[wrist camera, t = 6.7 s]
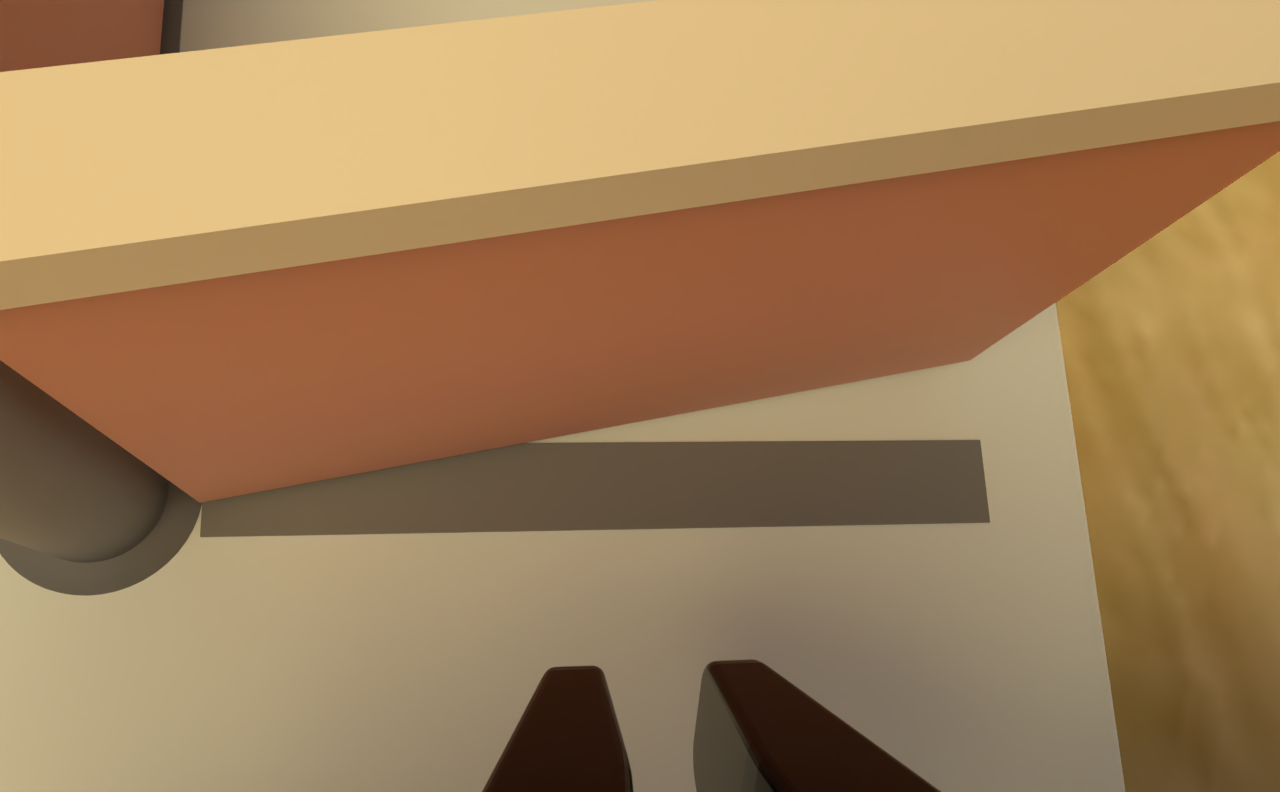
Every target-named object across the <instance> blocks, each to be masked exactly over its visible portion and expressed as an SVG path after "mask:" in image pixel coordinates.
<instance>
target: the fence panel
mask: <svg viewBox="0 0 1280 792" xmlns="http://www.w3.org/2000/svg"><path fill="white" fill-rule="evenodd" d="M1279 151H1280V0H655V1H646V2H637V3H628V4H619V5H609V6H600V7H591V8H582V9H573V10H564V11H555V12H545V13H536V14H527V15H518V16H509V17H500V18H491V19H481V20H472V21H463V22H454V23H445V24H436V25H427V26H417V27H408V28H399V29H390V30H381V31H372V32H363V33H353V34H344V35H335V36H326V37H317V38H308V39H299V40H289V41H280V42H271V43H262V44H253V45H244V46H235V47H225V48H216V49H207V50H198V51H189V52H180V53H170V54H161V55H152V56H143V57H134V58H125V59H116V60H106V61H97V62H88V63H79V64H70V65H61V66H52V67H42V68H33V69H24V70H15V71H6V72H0V360H1V361H2V362H4V363H5V364H6V365H8V366H9V367H11V368H12V369H13V370H15V371H16V372H18V373H19V374H20V375H22V376H23V377H25V378H26V379H27V380H29V381H30V382H32V383H33V384H34V385H36V386H37V387H39V388H40V389H41V390H43V391H44V392H46V393H47V394H48V395H50V396H51V397H52V398H54V399H55V400H57V401H58V402H59V403H61V404H62V405H64V406H65V407H66V408H68V409H69V410H71V411H72V412H73V413H75V414H76V415H78V416H79V417H80V418H82V419H83V420H85V421H86V422H87V423H89V424H90V425H92V426H93V427H94V428H96V429H97V430H99V431H100V432H101V433H103V434H104V435H106V436H107V437H108V438H110V439H111V440H113V441H114V442H115V443H117V444H118V445H120V446H121V447H122V448H124V449H125V450H127V451H128V452H129V453H131V454H132V455H134V456H135V457H136V458H138V459H139V460H141V461H142V462H143V463H145V464H146V465H148V466H149V467H150V468H152V469H153V470H155V471H156V472H157V473H159V474H160V475H162V476H163V477H164V478H166V479H167V480H169V481H170V482H171V483H173V484H174V485H176V486H177V487H178V488H180V489H181V490H183V491H184V492H185V493H187V494H188V495H189V496H191V497H192V498H194V499H195V500H196V501H198V502H199V503H202V502H207V501H213V500H218V499H224V498H229V497H234V496H240V495H245V494H251V493H256V492H261V491H267V490H272V489H278V488H283V487H288V486H294V485H299V484H305V483H310V482H315V481H321V480H326V479H332V478H337V477H343V476H348V475H353V474H359V473H364V472H370V471H375V470H380V469H386V468H391V467H397V466H402V465H407V464H413V463H418V462H424V461H429V460H434V459H440V458H445V457H451V456H456V455H461V454H467V453H472V452H478V451H483V450H488V449H494V448H499V447H505V446H510V445H515V444H521V443H526V442H532V441H537V440H542V439H548V438H553V437H559V436H564V435H569V434H575V433H580V432H586V431H591V430H597V429H602V428H607V427H613V426H618V425H624V424H629V423H634V422H640V421H645V420H651V419H656V418H661V417H667V416H672V415H678V414H683V413H688V412H694V411H699V410H705V409H710V408H715V407H721V406H726V405H732V404H737V403H742V402H748V401H753V400H759V399H764V398H769V397H775V396H780V395H786V394H791V393H796V392H802V391H807V390H813V389H818V388H823V387H829V386H834V385H840V384H845V383H851V382H856V381H861V380H867V379H872V378H878V377H883V376H888V375H894V374H899V373H905V372H910V371H915V370H921V369H926V368H932V367H937V366H942V365H948V364H953V363H959V362H964V361H969V360H971V359H973V358H974V357H976V356H977V355H979V354H980V353H982V352H983V351H985V350H986V349H987V348H989V347H990V346H992V345H993V344H995V343H996V342H998V341H999V340H1001V339H1002V338H1004V337H1005V336H1007V335H1008V334H1010V333H1011V332H1013V331H1014V330H1016V329H1017V328H1019V327H1020V326H1021V325H1023V324H1024V323H1026V322H1027V321H1029V320H1030V319H1032V318H1033V317H1035V316H1036V315H1038V314H1039V313H1041V312H1042V311H1044V310H1045V309H1047V308H1048V307H1050V306H1051V305H1053V304H1054V303H1055V302H1057V301H1058V300H1060V299H1061V298H1063V297H1064V296H1066V295H1067V294H1069V293H1070V292H1072V291H1073V290H1075V289H1076V288H1078V287H1079V286H1081V285H1082V284H1084V283H1085V282H1087V281H1088V280H1089V279H1091V278H1092V277H1094V276H1095V275H1097V274H1098V273H1100V272H1101V271H1103V270H1104V269H1106V268H1107V267H1109V266H1110V265H1112V264H1113V263H1115V262H1116V261H1118V260H1119V259H1121V258H1122V257H1123V256H1125V255H1126V254H1128V253H1129V252H1131V251H1132V250H1134V249H1135V248H1137V247H1138V246H1140V245H1141V244H1143V243H1144V242H1146V241H1147V240H1149V239H1150V238H1152V237H1153V236H1155V235H1156V234H1157V233H1159V232H1160V231H1162V230H1163V229H1165V228H1166V227H1168V226H1169V225H1171V224H1172V223H1174V222H1175V221H1177V220H1178V219H1180V218H1181V217H1183V216H1184V215H1186V214H1187V213H1189V212H1190V211H1191V210H1193V209H1194V208H1196V207H1197V206H1199V205H1200V204H1202V203H1203V202H1205V201H1206V200H1208V199H1209V198H1211V197H1212V196H1214V195H1215V194H1217V193H1218V192H1220V191H1221V190H1223V189H1224V188H1225V187H1227V186H1228V185H1230V184H1231V183H1233V182H1234V181H1236V180H1237V179H1239V178H1240V177H1242V176H1243V175H1245V174H1246V173H1248V172H1249V171H1251V170H1252V169H1254V168H1255V167H1257V166H1258V165H1259V164H1261V163H1262V162H1264V161H1265V160H1267V159H1268V158H1270V157H1271V156H1273V155H1274V154H1276V153H1277V152H1279Z"/></svg>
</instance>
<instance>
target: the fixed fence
mask: <svg viewBox="0 0 1280 792" xmlns="http://www.w3.org/2000/svg"><path fill="white" fill-rule="evenodd" d="M163 8H164V0H0V72H6V71H15V70H24V69H33V68H42V67H52V66H61V65H70V64H79V63H88V62H97V61H106V60H116V59H125V58H134V57H143V56H152V55H160V45H161V33H162V21H163ZM167 494H168V480H167V479H166V478H164V477H163V476H162V475H160V474H159V473H157V472H156V471H155V470H153V469H152V468H150V467H149V466H148V465H146V464H145V463H143V462H142V461H141V460H139V459H138V458H136V457H135V456H134V455H132V454H131V453H129V452H128V451H127V450H125V449H124V448H122V447H121V446H120V445H118V444H117V443H115V442H114V441H113V440H111V439H110V438H108V437H107V436H106V435H104V434H103V433H101V432H100V431H99V430H97V429H96V428H94V427H93V426H92V425H90V424H89V423H87V422H86V421H85V420H83V419H82V418H80V417H79V416H78V415H76V414H75V413H73V412H72V411H71V410H69V409H68V408H66V407H65V406H64V405H62V404H61V403H59V402H58V401H57V400H55V399H54V398H52V397H51V396H50V395H48V394H47V393H46V392H44V391H43V390H41V389H40V388H39V387H37V386H36V385H34V384H33V383H32V382H30V381H29V380H27V379H26V378H25V377H23V376H22V375H20V374H19V373H18V372H16V371H15V370H13V369H12V368H11V367H9V366H8V365H6V364H5V363H4V362H2V361H1V360H0V538H1V539H4V540H7V541H10V542H13V543H16V544H19V545H22V546H25V547H28V548H30V549H33V550H36V551H39V552H42V553H45V554H48V555H51V556H54V557H57V558H60V559H64V560H67V561H72V562H80V563H91V562H99V561H104V560H108V559H111V558H114V557H117V556H119V555H121V554H124V553H126V552H127V551H129V550H131V549H132V548H134V547H135V546H137V545H138V544H139V543H140V542H142V541H143V540H144V539H145V538H146V537H147V536H148V535H149V534H150V532H151V531H152V530H153V529H154V527H155V526H156V524H157V523H158V521H159V519H160V517H161V515H162V513H163V510H164V508H165V504H166V501H167Z"/></svg>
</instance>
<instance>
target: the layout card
mask: <svg viewBox="0 0 1280 792" xmlns="http://www.w3.org/2000/svg"><path fill="white" fill-rule="evenodd" d="M646 1H655V0H164V8H163V21H162V33H161V45H160V55H161V54H170V53H180V52H189V51H198V50H207V49H216V48H225V47H235V46H244V45H253V44H262V43H271V42H280V41H289V40H299V39H308V38H317V37H326V36H335V35H344V34H353V33H363V32H372V31H381V30H390V29H399V28H408V27H417V26H427V25H436V24H445V23H454V22H463V21H472V20H481V19H491V18H500V17H509V16H518V15H527V14H536V13H545V12H555V11H564V10H573V9H582V8H591V7H600V6H609V5H619V4H628V3H637V2H646ZM748 659H754V660H758V661H760V662H762V663H764V664H766V665H767V666H769V667H770V668H771V669H773V670H774V671H776V672H777V673H778V674H780V675H781V676H782V677H784V678H785V679H787V680H788V681H789V682H791V683H792V684H794V685H795V686H796V687H798V688H799V689H800V690H802V691H803V692H805V693H806V694H807V695H809V696H810V697H812V698H813V699H814V700H816V701H817V702H818V703H820V704H821V705H823V706H824V707H825V708H827V709H828V710H829V711H831V712H832V713H834V714H835V715H836V716H838V717H839V718H841V719H842V720H843V721H845V722H846V723H847V724H849V725H850V726H852V727H853V728H854V729H856V730H857V731H858V732H860V733H861V734H863V735H864V736H865V737H867V738H868V739H870V740H871V741H872V742H874V743H875V744H876V745H878V746H879V747H881V748H882V749H883V750H885V751H886V752H887V753H889V754H890V755H892V756H893V757H894V758H896V759H897V760H899V761H900V762H901V763H903V764H904V765H905V766H907V767H908V768H910V769H911V770H912V771H914V772H915V773H917V774H918V775H919V776H921V777H922V778H923V779H925V780H926V781H928V782H929V783H930V784H932V785H933V786H934V787H936V788H937V789H939V790H940V791H941V792H1126V791H1125V784H1124V777H1123V770H1122V763H1121V756H1120V749H1119V742H1118V735H1117V728H1116V721H1115V714H1114V707H1113V700H1112V693H1111V686H1110V679H1109V672H1108V665H1107V658H1106V651H1105V644H1104V637H1103V630H1102V623H1101V616H1100V609H1099V602H1098V595H1097V588H1096V581H1095V574H1094V567H1093V560H1092V553H1091V546H1090V539H1089V532H1088V525H1087V518H1086V511H1085V504H1084V497H1083V490H1082V483H1081V476H1080V469H1079V462H1078V455H1077V448H1076V441H1075V434H1074V427H1073V420H1072V413H1071V407H1070V400H1069V393H1068V386H1067V379H1066V372H1065V365H1064V358H1063V351H1062V344H1061V337H1060V330H1059V323H1058V316H1057V309H1056V302H1055V303H1054V304H1053V305H1051V306H1050V307H1048V308H1047V309H1045V310H1044V311H1042V312H1041V313H1039V314H1038V315H1036V316H1035V317H1033V318H1032V319H1030V320H1029V321H1027V322H1026V323H1024V324H1023V325H1021V326H1020V327H1019V328H1017V329H1016V330H1014V331H1013V332H1011V333H1010V334H1008V335H1007V336H1005V337H1004V338H1002V339H1001V340H999V341H998V342H996V343H995V344H993V345H992V346H990V347H989V348H987V349H986V350H985V351H983V352H982V353H980V354H979V355H977V356H976V357H974V358H973V359H971V360H969V361H964V362H959V363H953V364H948V365H942V366H937V367H932V368H926V369H921V370H915V371H910V372H905V373H899V374H894V375H888V376H883V377H878V378H872V379H867V380H861V381H856V382H851V383H845V384H840V385H834V386H829V387H823V388H818V389H813V390H807V391H802V392H796V393H791V394H786V395H780V396H775V397H769V398H764V399H759V400H753V401H748V402H742V403H737V404H732V405H726V406H721V407H715V408H710V409H705V410H699V411H694V412H688V413H683V414H678V415H672V416H667V417H661V418H656V419H651V420H645V421H640V422H634V423H629V424H624V425H618V426H613V427H607V428H602V429H597V430H591V431H586V432H580V433H575V434H569V435H564V436H559V437H553V438H548V439H542V440H537V441H532V442H526V443H521V444H515V445H510V446H505V447H499V448H494V449H488V450H483V451H478V452H472V453H467V454H461V455H456V456H451V457H445V458H440V459H434V460H429V461H424V462H418V463H413V464H407V465H402V466H397V467H391V468H386V469H380V470H375V471H370V472H364V473H359V474H353V475H348V476H343V477H337V478H332V479H326V480H321V481H315V482H310V483H305V484H299V485H294V486H288V487H283V488H278V489H272V490H267V491H261V492H256V493H251V494H245V495H240V496H234V497H229V498H224V499H218V500H213V501H207V502H202V503H199V502H198V501H196V500H195V499H194V498H192V497H191V496H189V495H188V494H187V493H185V492H184V491H183V490H181V489H180V488H178V487H177V486H176V485H174V484H173V483H171V482H170V481H169V480H168V494H167V501H166V504H165V508H164V510H163V513H162V515H161V517H160V519H159V521H158V523H157V524H156V526H155V527H154V529H153V530H152V531H151V532H150V534H149V535H148V536H147V537H146V538H145V539H144V540H143V541H142V542H140V543H139V544H138V545H137V546H135V547H134V548H132V549H131V550H129V551H127V552H126V553H124V554H121V555H119V556H117V557H114V558H111V559H108V560H104V561H99V562H91V563H80V562H72V561H67V560H64V559H60V558H57V557H54V556H51V555H48V554H45V553H42V552H39V551H36V550H33V549H30V548H28V547H25V546H22V545H19V544H16V543H13V542H10V541H7V540H4V539H1V538H0V792H482V790H483V788H484V786H485V785H486V783H487V781H488V779H489V777H490V775H491V773H492V771H493V769H494V768H495V766H496V764H497V762H498V760H499V758H500V756H501V754H502V752H503V750H504V749H505V747H506V745H507V743H508V741H509V739H510V737H511V735H512V733H513V732H514V730H515V728H516V726H517V724H518V722H519V720H520V718H521V716H522V714H523V713H524V711H525V709H526V707H527V705H528V703H529V701H530V699H531V697H532V695H533V694H534V692H535V690H536V688H537V686H538V684H539V682H540V680H541V678H542V677H543V675H544V674H545V672H546V671H547V670H548V669H550V668H552V667H563V666H590V665H594V666H597V667H599V668H601V669H602V671H603V672H604V674H605V677H606V681H607V684H608V688H609V691H610V695H611V698H612V702H613V706H614V709H615V713H616V716H617V720H618V723H619V727H620V730H621V734H622V737H623V741H624V744H625V748H626V752H627V755H628V759H629V764H630V768H631V773H632V781H633V792H697V791H696V785H695V778H694V768H693V742H694V734H695V726H696V718H697V710H698V703H699V695H700V687H701V679H702V674H703V671H704V669H705V667H706V666H707V664H709V663H710V662H712V661H722V660H748Z"/></svg>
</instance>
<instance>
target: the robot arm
mask: <svg viewBox="0 0 1280 792" xmlns="http://www.w3.org/2000/svg"><path fill="white" fill-rule="evenodd" d="M693 768H694V778H695V785H696V791H697V792H941V791H940V790H939V789H937V788H936V787H934V786H933V785H932V784H930V783H929V782H928V781H926V780H925V779H923V778H922V777H921V776H919V775H918V774H917V773H915V772H914V771H912V770H911V769H910V768H908V767H907V766H905V765H904V764H903V763H901V762H900V761H899V760H897V759H896V758H894V757H893V756H892V755H890V754H889V753H887V752H886V751H885V750H883V749H882V748H881V747H879V746H878V745H876V744H875V743H874V742H872V741H871V740H870V739H868V738H867V737H865V736H864V735H863V734H861V733H860V732H858V731H857V730H856V729H854V728H853V727H852V726H850V725H849V724H847V723H846V722H845V721H843V720H842V719H841V718H839V717H838V716H836V715H835V714H834V713H832V712H831V711H829V710H828V709H827V708H825V707H824V706H823V705H821V704H820V703H818V702H817V701H816V700H814V699H813V698H812V697H810V696H809V695H807V694H806V693H805V692H803V691H802V690H800V689H799V688H798V687H796V686H795V685H794V684H792V683H791V682H789V681H788V680H787V679H785V678H784V677H782V676H781V675H780V674H778V673H777V672H776V671H774V670H773V669H771V668H770V667H769V666H767V665H766V664H764V663H762V662H760V661H758V660H754V659H748V660H722V661H712V662H710V663H709V664H707V666H706V667H705V669H704V671H703V674H702V679H701V687H700V695H699V703H698V710H697V718H696V726H695V734H694V742H693ZM482 792H633V781H632V773H631V768H630V764H629V759H628V755H627V752H626V748H625V744H624V741H623V737H622V734H621V730H620V727H619V723H618V720H617V716H616V713H615V709H614V706H613V702H612V698H611V695H610V691H609V688H608V684H607V681H606V677H605V674H604V672H603V671H602V669H601V668H599V667H597V666H594V665H590V666H563V667H552V668H550V669H548V670H547V671H546V672H545V674H544V675H543V677H542V678H541V680H540V682H539V684H538V686H537V688H536V690H535V692H534V694H533V695H532V697H531V699H530V701H529V703H528V705H527V707H526V709H525V711H524V713H523V714H522V716H521V718H520V720H519V722H518V724H517V726H516V728H515V730H514V732H513V733H512V735H511V737H510V739H509V741H508V743H507V745H506V747H505V749H504V750H503V752H502V754H501V756H500V758H499V760H498V762H497V764H496V766H495V768H494V769H493V771H492V773H491V775H490V777H489V779H488V781H487V783H486V785H485V786H484V788H483V790H482Z"/></svg>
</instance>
